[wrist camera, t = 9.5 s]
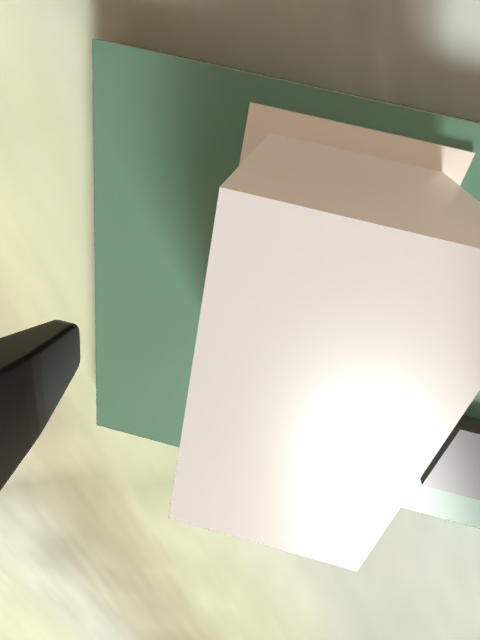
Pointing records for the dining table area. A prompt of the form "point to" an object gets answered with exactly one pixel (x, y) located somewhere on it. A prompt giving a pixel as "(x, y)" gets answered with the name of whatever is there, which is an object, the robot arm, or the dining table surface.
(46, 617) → the dining table surface
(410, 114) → the board
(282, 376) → the block
